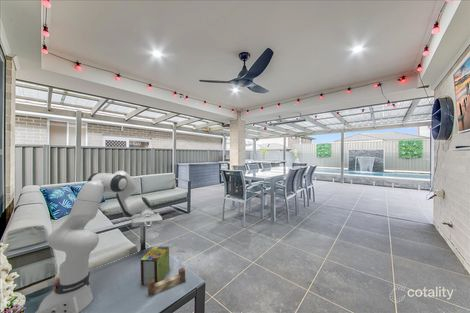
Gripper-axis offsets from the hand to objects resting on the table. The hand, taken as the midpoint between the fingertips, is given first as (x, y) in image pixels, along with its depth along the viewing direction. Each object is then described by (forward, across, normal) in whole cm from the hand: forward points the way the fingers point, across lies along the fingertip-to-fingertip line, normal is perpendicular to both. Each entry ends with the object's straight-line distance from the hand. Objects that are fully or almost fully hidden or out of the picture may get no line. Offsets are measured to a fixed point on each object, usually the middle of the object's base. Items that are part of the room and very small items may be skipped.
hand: (148, 226), depth 126 cm
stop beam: (+35, +9, +20) cm, 41 cm away
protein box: (+22, +4, +22) cm, 32 cm away
